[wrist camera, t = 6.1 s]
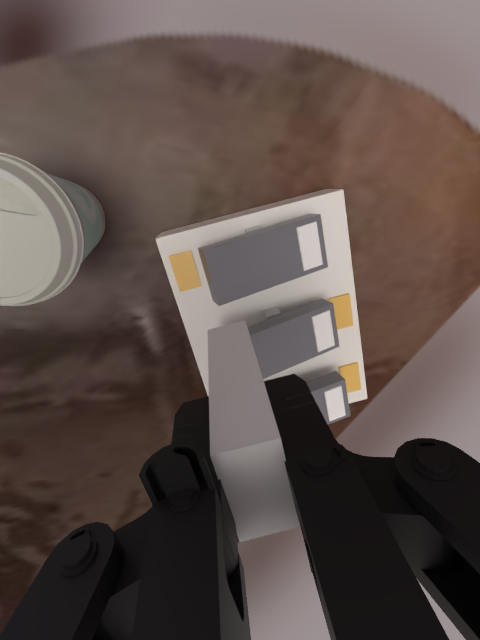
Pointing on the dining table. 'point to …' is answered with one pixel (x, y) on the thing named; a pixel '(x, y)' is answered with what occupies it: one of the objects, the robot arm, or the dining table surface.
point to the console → (263, 305)
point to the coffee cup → (42, 231)
